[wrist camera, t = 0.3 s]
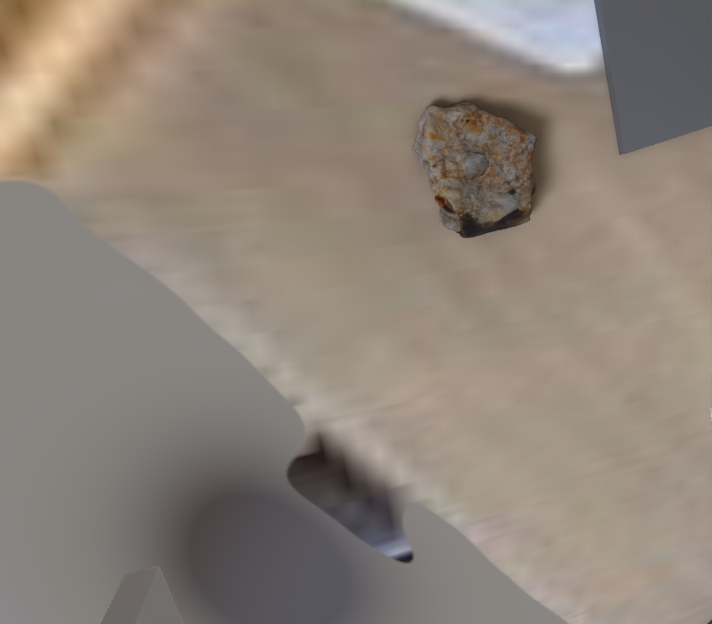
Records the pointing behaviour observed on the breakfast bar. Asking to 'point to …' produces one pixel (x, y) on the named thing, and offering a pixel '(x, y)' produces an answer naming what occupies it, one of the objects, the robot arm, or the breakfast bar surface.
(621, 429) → the breakfast bar surface
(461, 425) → the breakfast bar surface
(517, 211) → the rock
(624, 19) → the coaster
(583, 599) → the breakfast bar surface
